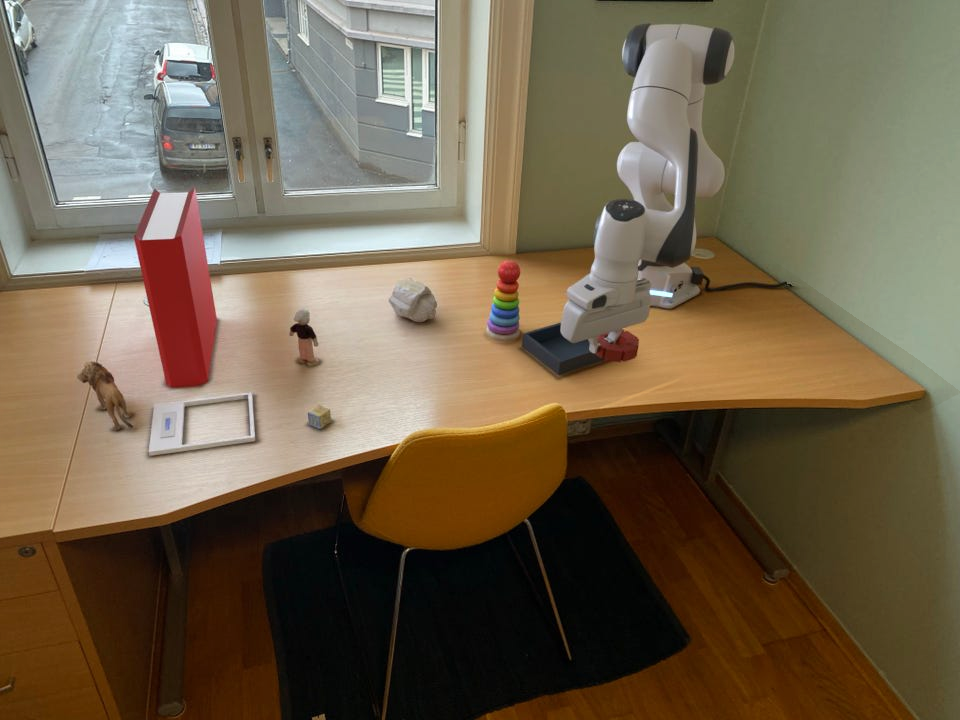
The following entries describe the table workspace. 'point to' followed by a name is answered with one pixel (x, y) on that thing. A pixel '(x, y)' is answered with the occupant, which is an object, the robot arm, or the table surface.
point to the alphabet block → (319, 417)
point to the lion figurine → (105, 391)
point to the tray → (558, 350)
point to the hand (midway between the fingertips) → (601, 349)
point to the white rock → (413, 300)
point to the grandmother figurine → (304, 337)
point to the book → (178, 286)
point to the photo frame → (171, 422)
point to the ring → (619, 347)
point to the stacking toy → (505, 304)
